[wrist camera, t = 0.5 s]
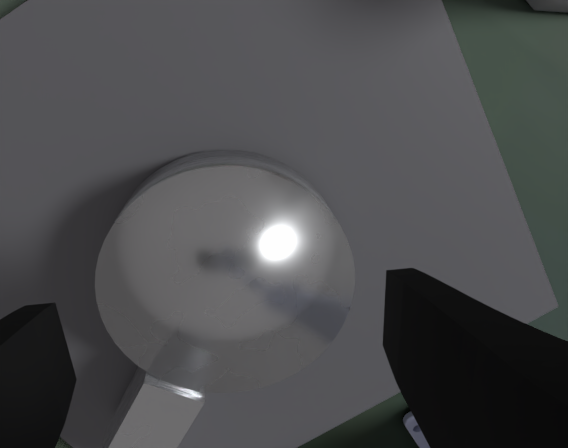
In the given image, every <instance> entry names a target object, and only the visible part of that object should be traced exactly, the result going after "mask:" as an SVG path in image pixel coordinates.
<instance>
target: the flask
mask: <svg viewBox="0 0 568 448" xmlns="http://www.w3.org/2000/svg"><path fill="white" fill-rule="evenodd" d="M526 1H527V2H528V3H529V5H530V6H531V7H532V8H533V9H534V10H538V11H553V12H568V0H526Z"/></svg>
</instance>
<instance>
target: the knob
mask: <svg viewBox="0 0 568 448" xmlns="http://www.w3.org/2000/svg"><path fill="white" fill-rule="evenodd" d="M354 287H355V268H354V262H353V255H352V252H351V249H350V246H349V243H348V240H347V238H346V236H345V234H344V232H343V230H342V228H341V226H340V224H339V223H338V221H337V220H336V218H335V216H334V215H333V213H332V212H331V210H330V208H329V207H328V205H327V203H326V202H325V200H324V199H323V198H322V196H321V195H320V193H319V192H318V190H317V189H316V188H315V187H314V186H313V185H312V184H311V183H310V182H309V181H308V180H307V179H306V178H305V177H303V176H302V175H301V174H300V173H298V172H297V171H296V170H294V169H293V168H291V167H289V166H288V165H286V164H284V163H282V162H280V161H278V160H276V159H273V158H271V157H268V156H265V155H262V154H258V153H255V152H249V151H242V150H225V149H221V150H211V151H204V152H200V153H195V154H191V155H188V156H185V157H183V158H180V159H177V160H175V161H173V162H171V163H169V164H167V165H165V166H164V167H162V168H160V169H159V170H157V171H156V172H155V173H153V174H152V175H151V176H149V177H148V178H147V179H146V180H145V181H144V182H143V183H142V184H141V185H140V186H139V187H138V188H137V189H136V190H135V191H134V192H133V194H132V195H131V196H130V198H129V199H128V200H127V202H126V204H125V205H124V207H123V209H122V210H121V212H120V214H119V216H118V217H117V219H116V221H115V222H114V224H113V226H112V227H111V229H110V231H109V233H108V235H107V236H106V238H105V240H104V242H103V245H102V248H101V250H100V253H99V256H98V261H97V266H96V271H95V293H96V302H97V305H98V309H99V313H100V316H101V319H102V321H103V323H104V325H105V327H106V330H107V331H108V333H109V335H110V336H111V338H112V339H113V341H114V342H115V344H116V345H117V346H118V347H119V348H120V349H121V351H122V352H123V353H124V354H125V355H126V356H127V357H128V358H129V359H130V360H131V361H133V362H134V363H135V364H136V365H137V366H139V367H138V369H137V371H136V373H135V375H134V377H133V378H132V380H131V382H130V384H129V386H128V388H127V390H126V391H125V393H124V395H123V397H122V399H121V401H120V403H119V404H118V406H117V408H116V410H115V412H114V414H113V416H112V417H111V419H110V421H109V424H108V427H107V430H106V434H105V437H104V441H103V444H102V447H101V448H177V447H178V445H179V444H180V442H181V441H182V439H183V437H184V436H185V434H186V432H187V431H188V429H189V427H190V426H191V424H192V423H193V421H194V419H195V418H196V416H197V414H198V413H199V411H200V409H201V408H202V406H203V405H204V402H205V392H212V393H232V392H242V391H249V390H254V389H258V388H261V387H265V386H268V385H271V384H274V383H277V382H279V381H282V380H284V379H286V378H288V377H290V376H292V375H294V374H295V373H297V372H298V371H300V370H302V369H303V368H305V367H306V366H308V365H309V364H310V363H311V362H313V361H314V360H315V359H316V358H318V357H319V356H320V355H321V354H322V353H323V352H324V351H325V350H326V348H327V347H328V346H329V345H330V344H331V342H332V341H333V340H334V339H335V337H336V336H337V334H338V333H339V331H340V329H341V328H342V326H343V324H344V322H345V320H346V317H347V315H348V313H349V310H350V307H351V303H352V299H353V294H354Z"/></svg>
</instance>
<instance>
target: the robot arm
mask: <svg viewBox="0 0 568 448" xmlns="http://www.w3.org/2000/svg"><path fill="white" fill-rule="evenodd" d="M383 348H384V350H385V353H386V356H387V359H388V362H389V365H390V367H391V370H392V373H393V375H394V378H395V380H396V383H397V385H398V387H399V389H400V391H401V393H402V395H403V397H404V399H405V401H406V403H407V405H408V406H409V408H410V410H411V411H410V412H409V413H407V414H406V415H405V416H404V417H403V423H404V425H405V427H406V428H407V430H408V431H409V433H410V434H411V436H412V437H413V439H414V440H415V442H416V443H417V445H418V446H419V448H568V341H565V340H562V339H560V338H557V337H555V336H553V335H550V334H548V333H545V332H543V331H541V330H538V329H536V328H534V327H532V326H530V325H527V324H525V323H523V322H521V321H519V320H516V319H514V318H512V317H510V316H508V315H506V314H504V313H502V312H500V311H498V310H495V309H493V308H491V307H489V306H487V305H485V304H483V303H482V302H480V301H478V300H476V299H474V298H472V297H470V296H468V295H466V294H464V293H462V292H460V291H459V290H457V289H455V288H453V287H451V286H449V285H447V284H445V283H443V282H441V281H440V280H438V279H436V278H434V277H432V276H430V275H428V274H426V273H424V272H421V271H419V270H417V269H414V268H404V269H394V270H386V286H385V306H384V326H383ZM76 380H77V378H76V375H75V371H74V368H73V364H72V361H71V357H70V353H69V350H68V346H67V343H66V339H65V335H64V332H63V328H62V325H61V321H60V317H59V314H58V310H57V307H56V303H45V304H35V305H25V306H23V307H21V308H19V309H17V310H15V311H14V312H12V313H10V314H8V315H7V316H5V317H3V318H2V319H0V448H55V446H56V444H57V441H58V439H59V437H60V434H61V432H62V429H63V427H64V424H65V421H66V418H67V414H68V411H69V407H70V404H71V400H72V396H73V392H74V388H75V384H76Z"/></svg>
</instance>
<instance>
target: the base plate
mask: <svg viewBox="0 0 568 448" xmlns="http://www.w3.org/2000/svg"><path fill="white" fill-rule="evenodd" d="M221 149H225V150H242V151H249V152H255V153H258V154H262V155H265V156H268V157H271V158H273V159H276V160H278V161H280V162H282V163H284V164H286V165H288V166H289V167H291V168H293V169H294V170H296V171H297V172H298V173H300V174H301V175H302V176H303V177H305V178H306V179H307V180H308V181H309V182H310V183H311V184H312V185H313V186H314V187H315V188H316V189H317V190H318V192H319V193H320V195H321V196H322V198H323V199H324V200H325V202H326V203H327V205H328V207H329V208H330V210H331V212H332V213H333V215H334V216H335V218H336V220H337V221H338V223H339V224H340V226H341V228H342V230H343V232H344V234H345V236H346V238H347V240H348V243H349V246H350V249H351V252H352V255H353V262H354V268H355V287H354V294H353V299H352V303H351V307H350V310H349V313H348V315H347V317H346V320H345V322H344V324H343V326H342V328H341V329H340V331H339V333H338V334H337V336H336V337H335V339H334V340H333V341H332V342H331V344H330V345H329V346H328V347H327V348H326V350H325V351H324V352H323V353H322V354H321V355H320V356H319V357H318V358H316V359H315V360H314V361H313V362H311V363H310V364H309V365H308V366H306V367H305V368H303V369H302V370H300V371H298V372H297V373H295V374H294V375H292V376H290V377H288V378H286V379H284V380H282V381H279V382H277V383H274V384H271V385H268V386H265V387H261V388H258V389H254V390H249V391H242V392H232V393H212V392H205V402H204V405H203V406H202V408H201V409H200V411H199V413H198V414H197V416H196V418H195V419H194V421H193V423H192V424H191V426H190V427H189V429H188V431H187V432H186V434H185V436H184V437H183V439H182V441H181V442H180V444H179V445H178V447H177V448H297V447H299V446H301V445H303V444H305V443H306V442H308V441H310V440H312V439H314V438H316V437H318V436H319V435H321V434H323V433H325V432H327V431H329V430H331V429H332V428H334V427H336V426H338V425H340V424H342V423H343V422H345V421H347V420H349V419H351V418H353V417H355V416H356V415H358V414H360V413H362V412H364V411H366V410H368V409H369V408H371V407H373V406H375V405H377V404H379V403H381V402H382V401H384V400H386V399H388V398H390V397H392V396H394V395H395V394H397V393H399V392H401V391H400V389H399V387H398V385H397V383H396V380H395V378H394V375H393V373H392V370H391V367H390V365H389V362H388V359H387V356H386V353H385V350H384V348H383V326H384V306H385V286H386V270H394V269H404V268H414V269H417V270H419V271H421V272H424V273H426V274H428V275H430V276H432V277H434V278H436V279H438V280H440V281H441V282H443V283H445V284H447V285H449V286H451V287H453V288H455V289H457V290H459V291H460V292H462V293H464V294H466V295H468V296H470V297H472V298H474V299H476V300H478V301H480V302H482V303H483V304H485V305H487V306H489V307H491V308H493V309H495V310H498V311H500V312H502V313H504V314H506V315H508V316H510V317H512V318H514V319H516V320H519V321H521V322H523V323H525V324H527V323H529V322H531V321H533V320H535V319H536V318H538V317H540V316H542V315H544V314H546V313H548V312H549V311H551V310H553V309H555V308H557V307H559V306H558V303H557V301H556V298H555V296H554V293H553V290H552V288H551V285H550V282H549V280H548V277H547V275H546V272H545V269H544V267H543V264H542V262H541V259H540V256H539V254H538V251H537V248H536V246H535V243H534V241H533V238H532V235H531V233H530V230H529V227H528V225H527V222H526V220H525V217H524V214H523V212H522V209H521V207H520V204H519V201H518V199H517V196H516V193H515V191H514V188H513V186H512V183H511V180H510V178H509V175H508V172H507V170H506V167H505V165H504V162H503V159H502V157H501V154H500V152H499V149H498V146H497V144H496V141H495V138H494V136H493V133H492V131H491V128H490V125H489V123H488V120H487V117H486V115H485V112H484V110H483V107H482V104H481V102H480V99H479V96H478V94H477V91H476V89H475V86H474V83H473V81H472V78H471V76H470V73H469V70H468V68H467V65H466V62H465V60H464V57H463V55H462V52H461V49H460V47H459V44H458V41H457V39H456V36H455V34H454V31H453V28H452V26H451V23H450V21H449V18H448V15H447V13H446V10H445V7H444V5H443V2H442V0H27V1H26V2H24V3H23V4H21V5H20V6H19V7H17V8H16V9H14V10H13V11H11V12H10V13H9V14H7V15H6V16H4V17H3V18H1V19H0V319H2V318H3V317H5V316H7V315H8V314H10V313H12V312H14V311H15V310H17V309H19V308H21V307H23V306H25V305H35V304H45V303H56V307H57V310H58V314H59V317H60V321H61V325H62V328H63V332H64V335H65V339H66V343H67V346H68V350H69V353H70V357H71V361H72V364H73V368H74V371H75V375H76V378H77V380H76V384H75V388H74V392H73V396H72V400H71V404H70V407H69V411H68V414H67V418H66V421H65V424H64V427H63V429H62V432H61V434H60V437H61V438H62V439H63V440H65V441H66V442H67V443H68V444H69V445H70V446H72V447H73V448H101V447H102V444H103V441H104V437H105V434H106V430H107V427H108V424H109V421H110V419H111V417H112V416H113V414H114V412H115V410H116V408H117V406H118V404H119V403H120V401H121V399H122V397H123V395H124V393H125V391H126V390H127V388H128V386H129V384H130V382H131V380H132V378H133V377H134V375H135V373H136V371H137V369H138V367H139V366H137V365H136V364H135V363H134V362H133V361H131V360H130V359H129V358H128V357H127V356H126V355H125V354H124V353H123V352H122V351H121V349H120V348H119V347H118V346H117V345H116V344H115V342H114V341H113V339H112V338H111V336H110V335H109V333H108V331H107V330H106V327H105V325H104V323H103V321H102V319H101V316H100V313H99V309H98V305H97V302H96V293H95V271H96V266H97V261H98V256H99V253H100V250H101V248H102V245H103V242H104V240H105V238H106V236H107V235H108V233H109V231H110V229H111V227H112V226H113V224H114V222H115V221H116V219H117V217H118V216H119V214H120V212H121V210H122V209H123V207H124V205H125V204H126V202H127V200H128V199H129V198H130V196H131V195H132V194H133V192H134V191H135V190H136V189H137V188H138V187H139V186H140V185H141V184H142V183H143V182H144V181H145V180H146V179H147V178H148V177H149V176H151V175H152V174H153V173H155V172H156V171H157V170H159V169H160V168H162V167H164V166H165V165H167V164H169V163H171V162H173V161H175V160H177V159H180V158H183V157H185V156H188V155H191V154H195V153H200V152H204V151H211V150H221Z"/></svg>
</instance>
